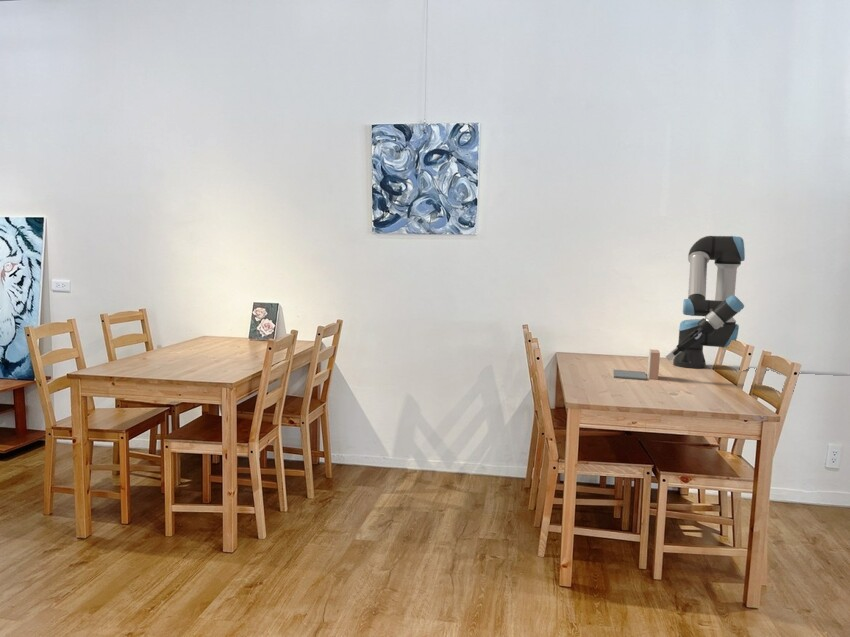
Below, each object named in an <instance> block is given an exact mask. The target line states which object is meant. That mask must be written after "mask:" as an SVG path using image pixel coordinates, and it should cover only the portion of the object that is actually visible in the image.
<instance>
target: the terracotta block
mask: <svg viewBox="0 0 850 637" xmlns="http://www.w3.org/2000/svg"><path fill="white" fill-rule="evenodd" d="M660 357H661V352H660V350H659V349H651V348H649V350H648V361H647V375H646V376H647V378H648V380H655V381H656V380H659V370H660V359H661V358H660Z"/></svg>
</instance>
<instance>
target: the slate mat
mask: <svg viewBox="0 0 850 637" xmlns="http://www.w3.org/2000/svg"><path fill="white" fill-rule="evenodd" d="M613 378H615V379H624V380H625V379H626V380H637V381H638V380H639V381H647V378H648V377H647V375H646V372H645V371H641V370H640V371H638V370H637V371H636V370H627V369H626V370H625V369H623V370H622V369H613Z"/></svg>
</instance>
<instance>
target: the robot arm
mask: <svg viewBox="0 0 850 637" xmlns="http://www.w3.org/2000/svg"><path fill="white" fill-rule="evenodd" d="M745 252H746V251H745V241H744V239H743V237H742V236H733V235H730V236H729V235H706V236H703V237H701V238H699V239H698V240H697V241H695V243H693V244H692V246H691V247H690V249H689V251H688V255H687V256H688V257H687V260H688V262H689V274H688V275H689V278H688V291H687V292H688V294H687V298H684V299H683V305H682V314H683V315H685V316H691V317H704V318H693V319H692V318H691V319H685V320H684V319H683V320H681V321H680V322H679V329H678V332H679V333H678V340H677V341H678V344H677V345H676V347H675V348H673V349H672V350H671V351H670V352H668V353H667V354H666V355H665V356H664V357H665V358H666V359H667V361H669V362H671V361H673V362H672V364H673V365H674V366H676V367H680V368H681V367H682V368H690V369H703V368H706V366H707V365H706V364H707V363H706V359H705V355H704V351H703V350H704V347H713V348H714V347H717V348H723V349H725V348H728V347H727V346H728V345H729V344H730V342H731V340H735V341H736V342H737V339H738V335H739V329H740V325H739V324H737V321H736V319H735V318H734V317H735V315H737V314H739V313H740V312H741V311H742V310H743V309H744V308H745V305H744V303H743V302H742V301H741V300H740V299H739V298H738V296H736V284H737V282H736V281H737V273H738V268H739V267H740V266H741V264H742V262H743V261H745V259H746V257H745V256H746V255H745V254H746V253H745ZM709 261H714V265H715V266H716V268H717V270H716V272H717V273H716V283H715V294H714V295H715V296H714V300H713V299H711V300H710V299H707V298H706V297H707V274H708V273H707V272H708V271H707V270H708V263H709Z"/></svg>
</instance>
